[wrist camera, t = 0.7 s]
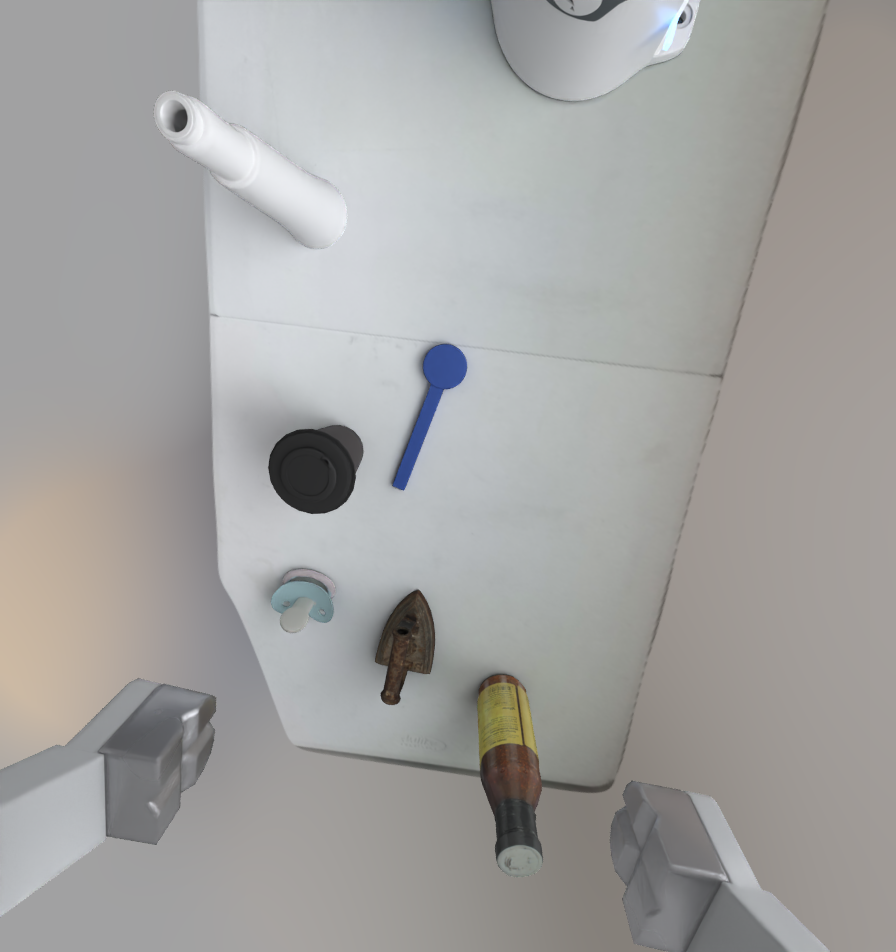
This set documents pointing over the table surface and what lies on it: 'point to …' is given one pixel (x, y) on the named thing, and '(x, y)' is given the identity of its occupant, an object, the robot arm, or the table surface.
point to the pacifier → (303, 600)
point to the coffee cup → (316, 467)
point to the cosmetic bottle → (253, 170)
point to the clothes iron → (406, 644)
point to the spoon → (431, 400)
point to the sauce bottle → (510, 772)
